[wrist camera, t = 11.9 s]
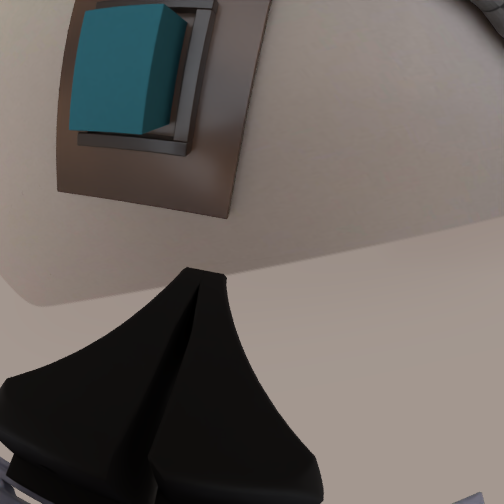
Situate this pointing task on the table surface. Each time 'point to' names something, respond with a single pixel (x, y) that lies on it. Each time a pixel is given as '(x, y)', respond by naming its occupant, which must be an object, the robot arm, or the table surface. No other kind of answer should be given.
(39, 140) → the table surface
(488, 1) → the flashlight
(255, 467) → the robot arm
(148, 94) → the teal block
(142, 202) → the brown board with frame
